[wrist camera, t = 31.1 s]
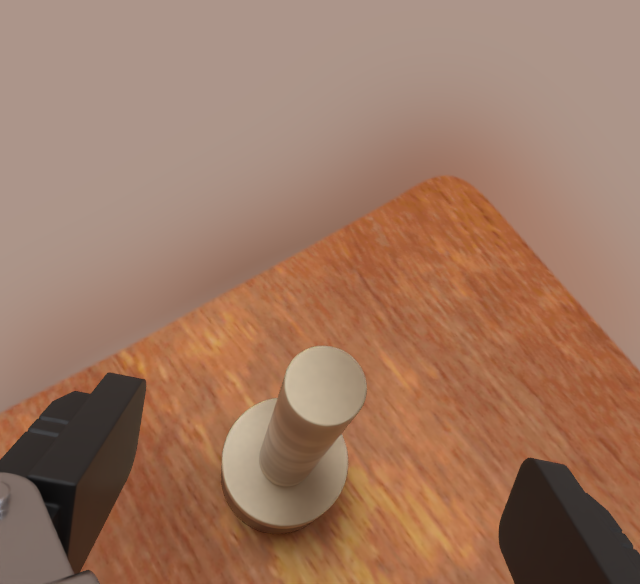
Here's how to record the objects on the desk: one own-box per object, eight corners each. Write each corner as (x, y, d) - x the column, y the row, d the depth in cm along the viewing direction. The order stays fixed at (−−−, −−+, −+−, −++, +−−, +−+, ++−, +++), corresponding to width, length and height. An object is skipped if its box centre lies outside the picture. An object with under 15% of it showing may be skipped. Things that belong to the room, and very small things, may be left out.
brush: (238, 551, 27) (258, 515, 15) (208, 434, 30) (205, 320, 17) (350, 511, 29) (451, 450, 17) (313, 404, 31) (380, 279, 19)
